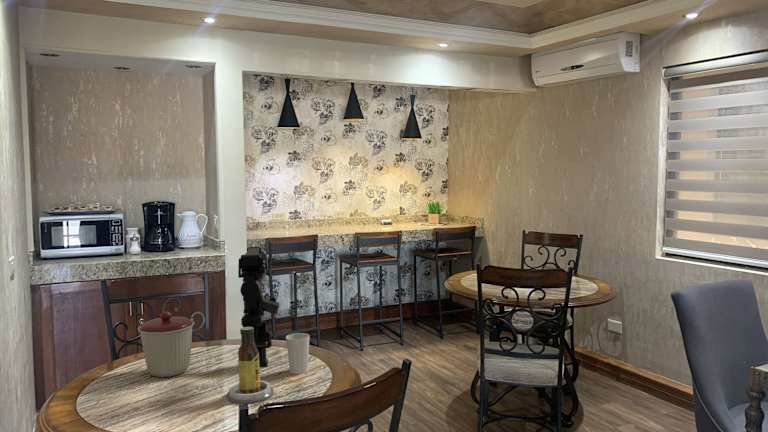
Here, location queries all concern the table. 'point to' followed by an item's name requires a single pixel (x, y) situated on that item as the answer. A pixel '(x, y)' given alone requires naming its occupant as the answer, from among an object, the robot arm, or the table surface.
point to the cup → (298, 352)
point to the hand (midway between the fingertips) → (254, 339)
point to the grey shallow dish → (263, 394)
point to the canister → (167, 344)
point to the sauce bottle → (248, 362)
